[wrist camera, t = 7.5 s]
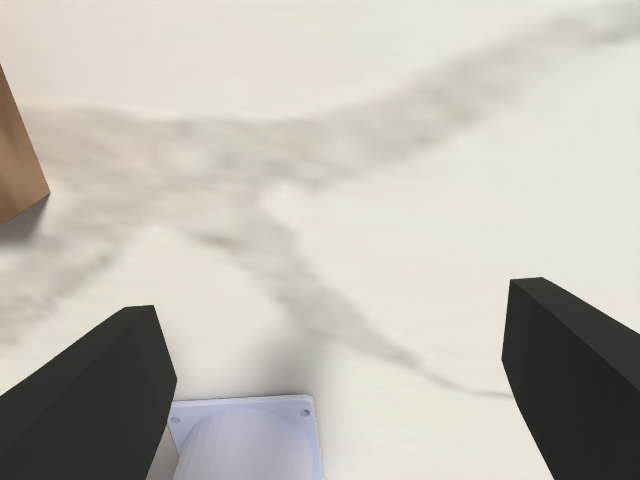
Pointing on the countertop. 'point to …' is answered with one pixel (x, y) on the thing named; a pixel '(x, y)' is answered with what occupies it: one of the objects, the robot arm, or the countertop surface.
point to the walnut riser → (16, 160)
